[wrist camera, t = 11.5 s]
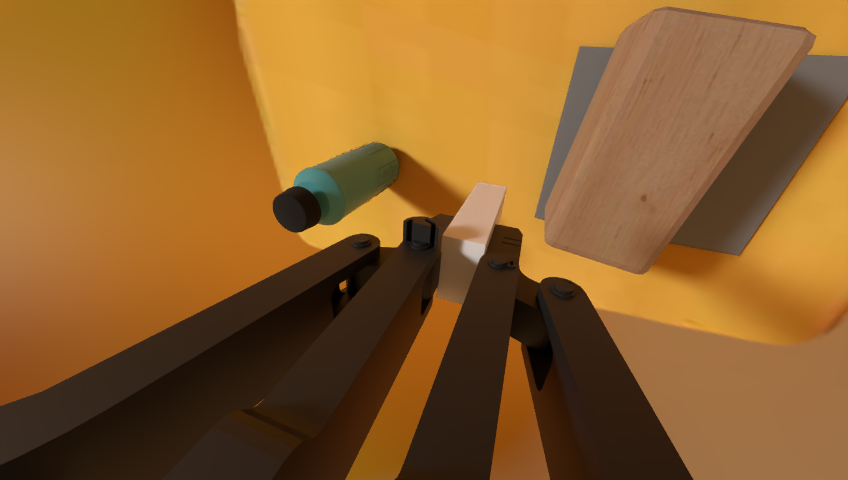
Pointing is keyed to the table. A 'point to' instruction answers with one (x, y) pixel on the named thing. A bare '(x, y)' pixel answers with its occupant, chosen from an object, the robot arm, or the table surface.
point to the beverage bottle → (336, 187)
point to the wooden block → (665, 129)
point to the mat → (749, 166)
